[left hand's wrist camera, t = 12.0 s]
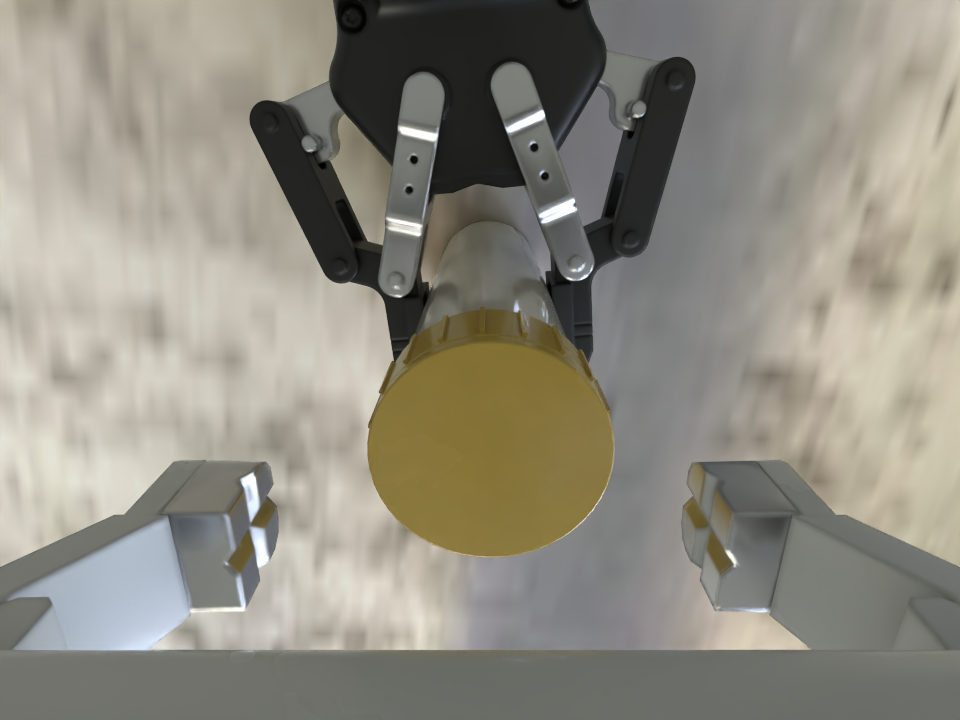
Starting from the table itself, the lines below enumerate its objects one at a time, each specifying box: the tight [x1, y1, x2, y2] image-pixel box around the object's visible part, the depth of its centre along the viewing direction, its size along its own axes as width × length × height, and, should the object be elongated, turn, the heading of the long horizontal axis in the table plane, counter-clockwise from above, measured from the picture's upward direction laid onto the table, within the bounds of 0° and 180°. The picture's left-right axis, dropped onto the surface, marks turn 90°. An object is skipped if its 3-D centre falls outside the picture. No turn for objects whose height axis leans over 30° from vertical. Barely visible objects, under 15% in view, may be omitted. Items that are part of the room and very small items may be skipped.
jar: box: [415, 221, 566, 337], centre depth 20 cm, size 4×4×17 cm
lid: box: [368, 307, 615, 557], centre depth 13 cm, size 5×5×2 cm
